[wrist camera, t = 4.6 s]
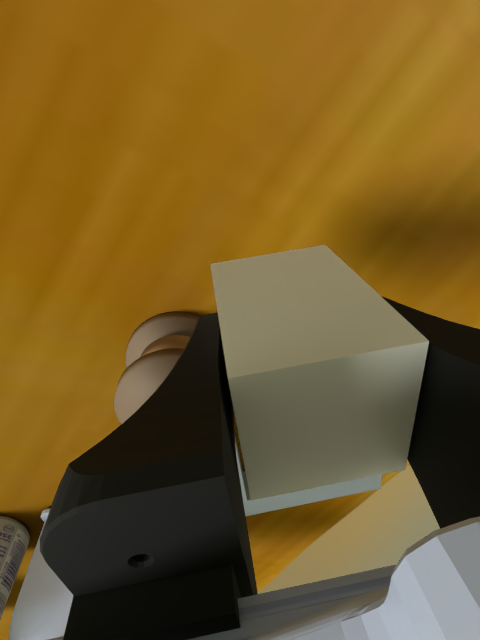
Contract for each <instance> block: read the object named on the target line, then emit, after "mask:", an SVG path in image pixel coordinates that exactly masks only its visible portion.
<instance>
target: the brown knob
mask: <svg viewBox="0 0 480 640" xmlns="http://www.w3.org/2000/svg"><path fill="white" fill-rule="evenodd" d="M199 317H200V316H198V315H195V314H191V313H187V312H167V313H163V314H159V315H156V316H153V317H151V318H149V319H148V320H146V321H145V322H143V323H142V324H141V325H140V326H139V327H138V328H137V329H136V330H135V331H134V333H133V334H132V336H131V338H130V341H129V344H128V348H127V352H126V367H127V369H126V370H125V371H124V372H123V374H122V376H121V378H120V380H119V382H118V386H117V390H116V394H115V399H114V407H115V412H116V415H117V417H118V419H119V421H120V423H121V424H123V423H124V422H125V421H126V420H127V419H128V418H129V417H130V416H132V415H133V414H134V413H135V412H136V411H137V410H138V409H139V408H140V407H141V406H142V405H143V404H144V403H145V402H146V401H147V400H148V399H149V397H150V396H151V395H152V394H153V393H154V392H155V391H156V390H157V389H158V387H159V386H160V385H161V384H162V382H163V381H164V380H165V378H166V377H167V376H168V374H169V373H170V371H171V370H172V368H173V367H174V365H175V364H176V362H177V360H178V359H179V357H180V356H181V354H182V352H183V350H184V349H185V347H186V345H187V343H188V341H189V339H190V337H191V335H192V333H193V330H194V328H195V325H196V323H197V320H198V318H199Z"/></svg>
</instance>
